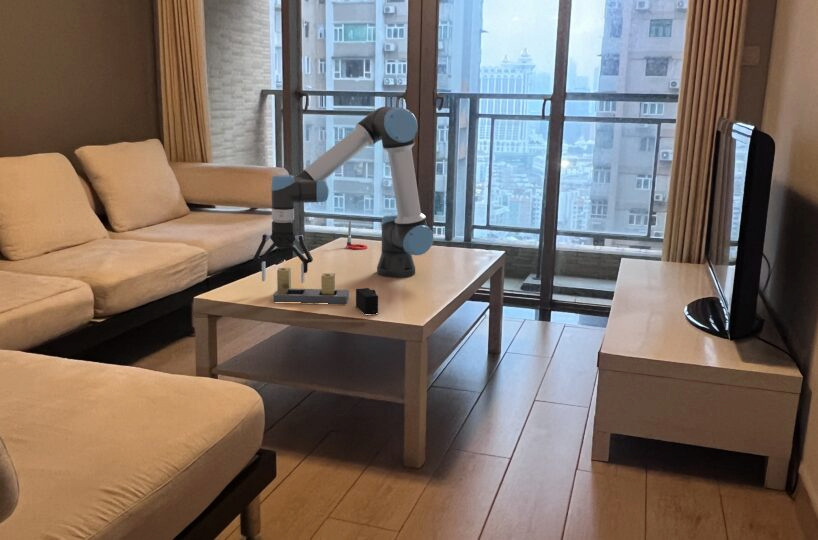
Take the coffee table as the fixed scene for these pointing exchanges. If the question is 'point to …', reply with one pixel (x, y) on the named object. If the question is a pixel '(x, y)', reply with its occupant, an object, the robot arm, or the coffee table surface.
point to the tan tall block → (284, 278)
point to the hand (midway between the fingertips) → (283, 281)
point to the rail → (310, 296)
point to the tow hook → (350, 241)
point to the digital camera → (367, 300)
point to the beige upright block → (328, 284)
